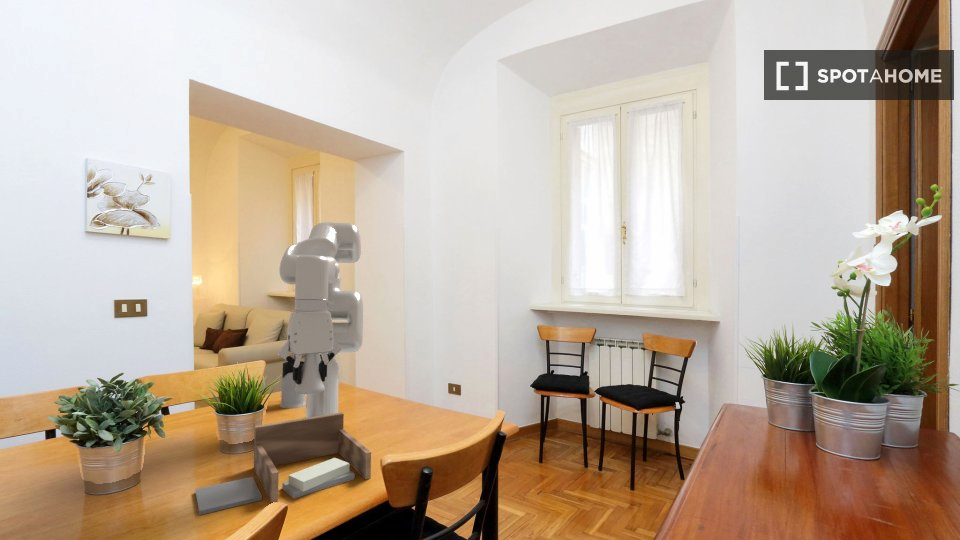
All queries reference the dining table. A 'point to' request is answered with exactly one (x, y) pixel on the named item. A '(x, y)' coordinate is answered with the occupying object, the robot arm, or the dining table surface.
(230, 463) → the dining table surface
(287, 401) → the glass holder
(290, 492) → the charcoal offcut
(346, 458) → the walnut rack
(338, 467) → the sage offcut
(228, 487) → the slate coaster
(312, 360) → the flask
